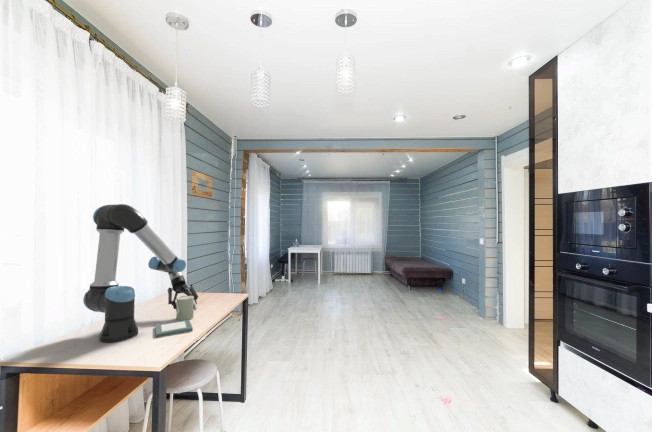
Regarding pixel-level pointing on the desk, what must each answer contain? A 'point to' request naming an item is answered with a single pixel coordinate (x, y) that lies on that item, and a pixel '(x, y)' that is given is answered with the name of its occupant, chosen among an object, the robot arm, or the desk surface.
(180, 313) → the can
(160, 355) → the desk surface
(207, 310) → the desk surface
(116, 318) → the robot arm
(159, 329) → the board
